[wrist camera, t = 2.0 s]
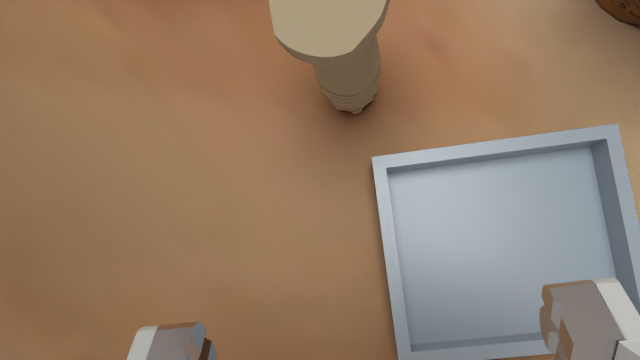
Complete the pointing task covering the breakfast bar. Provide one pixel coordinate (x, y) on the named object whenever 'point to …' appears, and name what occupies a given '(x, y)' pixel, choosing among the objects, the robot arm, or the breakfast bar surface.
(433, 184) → the tray
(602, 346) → the robot arm
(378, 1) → the handle
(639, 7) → the pancake mix bag
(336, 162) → the breakfast bar surface
